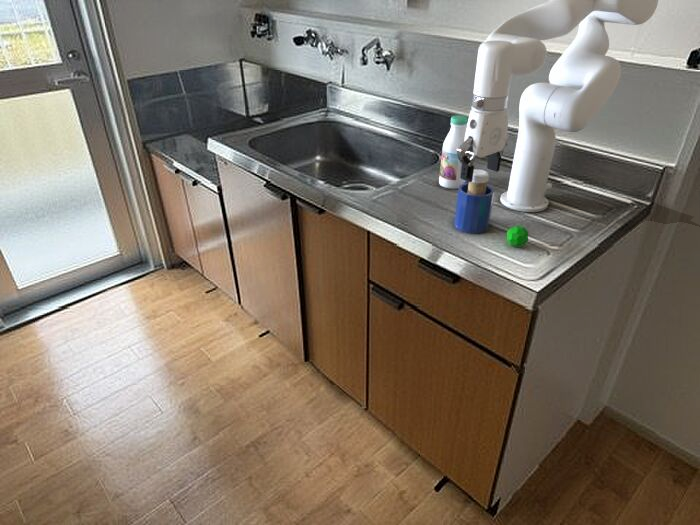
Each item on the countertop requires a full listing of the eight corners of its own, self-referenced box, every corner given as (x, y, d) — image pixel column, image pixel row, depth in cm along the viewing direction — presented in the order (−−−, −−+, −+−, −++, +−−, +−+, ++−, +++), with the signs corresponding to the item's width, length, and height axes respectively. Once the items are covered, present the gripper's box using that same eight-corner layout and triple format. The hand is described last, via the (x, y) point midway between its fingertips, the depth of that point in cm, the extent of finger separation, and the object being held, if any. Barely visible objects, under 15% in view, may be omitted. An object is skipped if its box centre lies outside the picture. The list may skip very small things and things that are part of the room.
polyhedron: (522, 240, 118) (526, 222, 116) (529, 250, 114) (533, 232, 112) (502, 240, 118) (505, 222, 116) (508, 250, 114) (511, 232, 112)
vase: (469, 215, 130) (474, 179, 124) (494, 227, 124) (501, 190, 119) (447, 224, 125) (451, 187, 120) (472, 237, 120) (478, 199, 114)
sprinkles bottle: (485, 223, 124) (493, 173, 117) (472, 228, 122) (479, 177, 115) (471, 216, 127) (479, 167, 120) (458, 221, 125) (465, 171, 118)
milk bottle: (456, 177, 151) (464, 112, 141) (469, 187, 145) (479, 119, 135) (434, 181, 149) (440, 114, 138) (447, 191, 143) (454, 122, 132)
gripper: (477, 113, 102) (467, 189, 111) (527, 98, 110) (515, 170, 120) (449, 106, 107) (443, 179, 116) (500, 92, 115) (490, 161, 125)
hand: (479, 175), depth 118 cm, fingers open, 9 cm apart
